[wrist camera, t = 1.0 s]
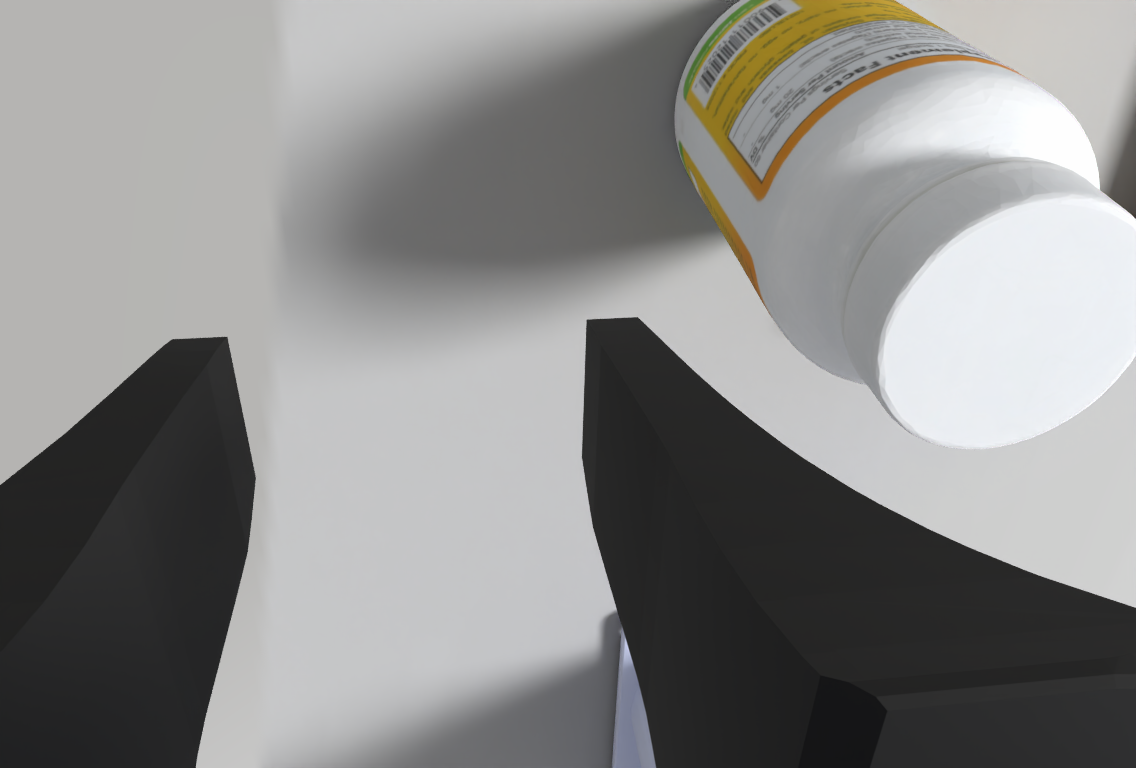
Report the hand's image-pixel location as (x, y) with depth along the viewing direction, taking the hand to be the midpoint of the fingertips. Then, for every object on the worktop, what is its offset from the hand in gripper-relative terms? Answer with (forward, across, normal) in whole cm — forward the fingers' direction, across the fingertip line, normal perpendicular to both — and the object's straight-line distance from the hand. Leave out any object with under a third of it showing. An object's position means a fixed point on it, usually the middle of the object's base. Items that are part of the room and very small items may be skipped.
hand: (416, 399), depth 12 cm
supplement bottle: (+11, -8, 0) cm, 13 cm away
